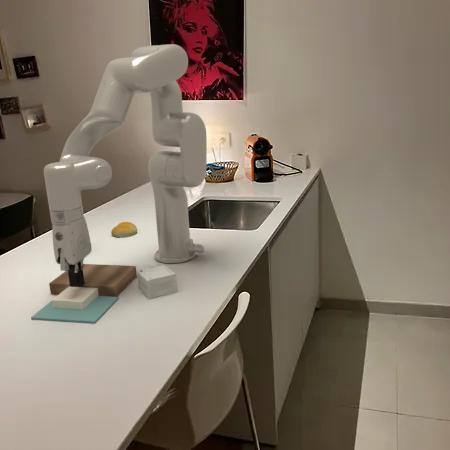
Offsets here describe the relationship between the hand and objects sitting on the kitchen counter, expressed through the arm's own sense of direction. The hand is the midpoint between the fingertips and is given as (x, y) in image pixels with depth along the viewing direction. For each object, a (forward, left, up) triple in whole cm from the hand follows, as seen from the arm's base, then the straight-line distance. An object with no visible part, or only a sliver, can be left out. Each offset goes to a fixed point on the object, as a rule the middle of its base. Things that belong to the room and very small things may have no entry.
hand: (77, 285), depth 128 cm
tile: (0, +2, -3) cm, 4 cm away
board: (0, -9, -4) cm, 10 cm away
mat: (-2, +5, -4) cm, 7 cm away
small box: (-18, -8, -4) cm, 20 cm away
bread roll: (+10, -52, -4) cm, 53 cm away
